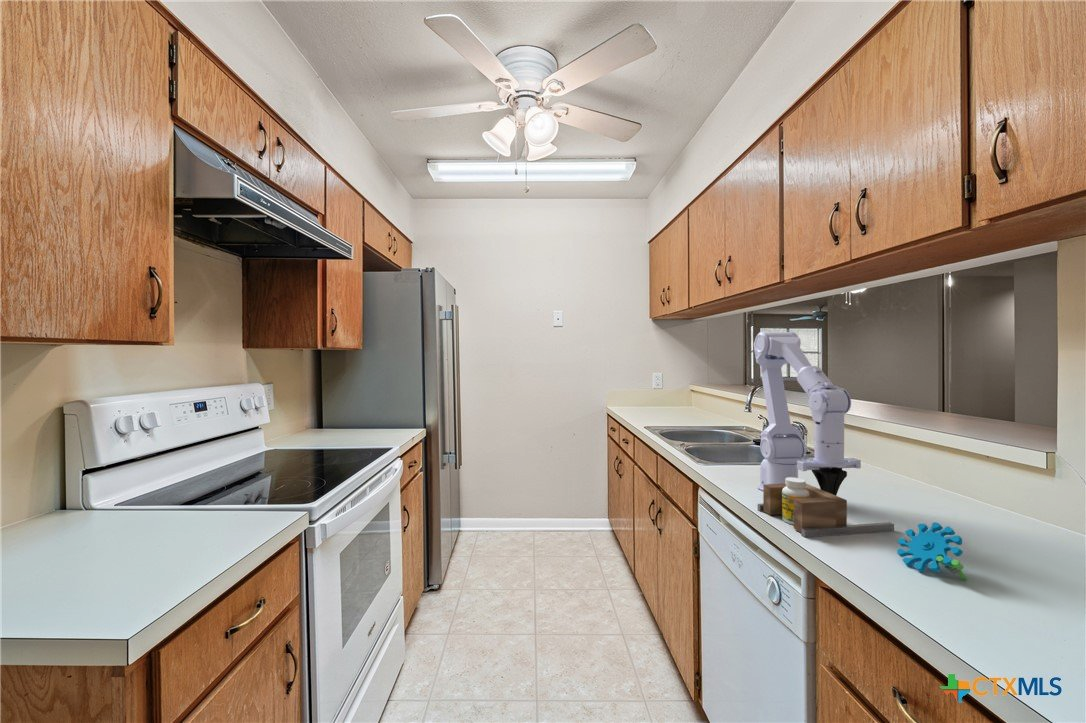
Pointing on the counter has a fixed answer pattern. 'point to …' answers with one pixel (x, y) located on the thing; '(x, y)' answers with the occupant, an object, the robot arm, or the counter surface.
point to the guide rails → (843, 528)
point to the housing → (807, 507)
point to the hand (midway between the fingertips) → (828, 500)
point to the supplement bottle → (792, 497)
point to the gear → (932, 549)
